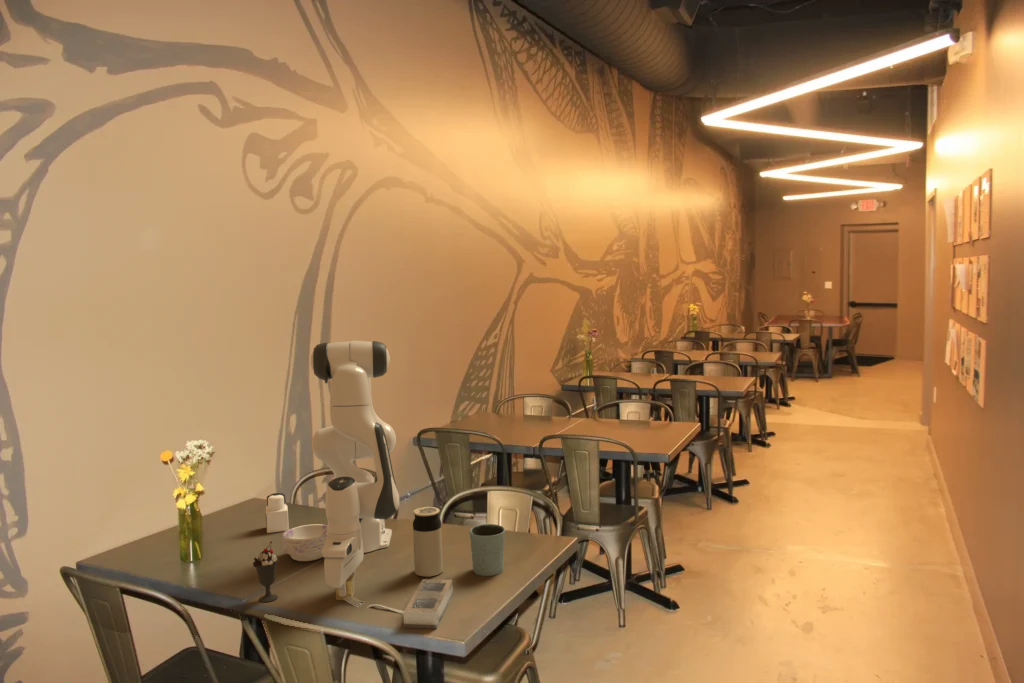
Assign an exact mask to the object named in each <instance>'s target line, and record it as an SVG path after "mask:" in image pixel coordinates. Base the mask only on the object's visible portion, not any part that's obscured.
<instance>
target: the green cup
mask: <svg viewBox="0 0 1024 683" xmlns="http://www.w3.org/2000/svg"><path fill="white" fill-rule="evenodd" d="M505 537H506V529H505V527H504V526H502V525H500V524H495V523H484V524H478V525H474V526H472V527H471V528H470V529H469V538H470V550H471V558H472V559H471V561H472V570H473V573H474V574H476V575H477V576H481V577H491V576H492V577H493V576H497V575H500V574H501V573H503V572H504V560H505V559H504V556H505V553H504V552H505Z"/></svg>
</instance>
